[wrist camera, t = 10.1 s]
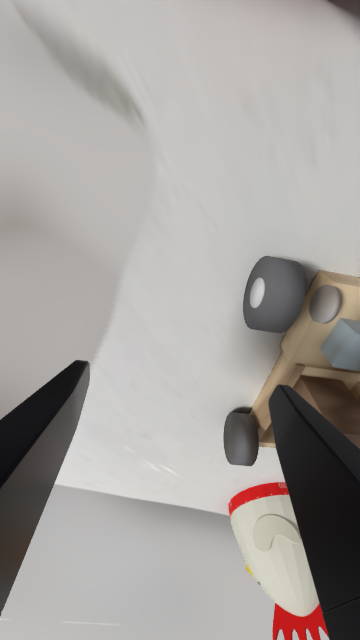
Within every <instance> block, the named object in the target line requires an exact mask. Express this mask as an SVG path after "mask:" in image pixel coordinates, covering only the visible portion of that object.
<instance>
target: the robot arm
mask: <svg viewBox="0 0 360 640" xmlns="http://www.w3.org/2000/svg"><path fill="white" fill-rule="evenodd" d="M89 380H90V365H89V362H88V361H82V360H76V361H74V362H73V363H72V364H70V365H69V366H68V367H67V368H65V369H64V370H63V371H61V372H60V373H59V374H58V375H56V376H55V377H54V378H53V379H51V380H50V381H49V382H48V383H47V384H45V385H44V386H42V387H41V388H40V389H39V390H38V391H36V392H35V393H34V394H32V395H31V396H30V397H29V398H27V399H26V400H25V401H24V402H23V403H21V404H20V405H18V406H17V407H16V408H15V409H14V410H12V411H11V412H10V413H8V414H7V415H6V416H5V417H3V418H2V419H1V420H0V616H1V611H2V610H3V608H4V606H5V603H6V601H7V598H8V596H9V593H10V591H11V588H12V586H13V584H14V581H15V579H16V576H17V574H18V571H19V569H20V566H21V564H22V561H23V559H24V557H25V554H26V552H27V549H28V547H29V544H30V542H31V539H32V537H33V534H34V532H35V529H36V527H37V525H38V522H39V520H40V517H41V515H42V512H43V510H44V507H45V505H46V502H47V500H48V498H49V495H50V493H51V490H52V488H53V485H54V483H55V480H56V478H57V475H58V473H59V471H60V468H61V466H62V463H63V461H64V458H65V456H66V453H67V451H68V448H69V446H70V444H71V441H72V439H73V436H74V434H75V431H76V428H77V425H78V422H79V418H80V415H81V411H82V407H83V404H84V400H85V396H86V393H87V389H88V386H89ZM268 406H269V412H270V418H271V424H272V429H273V435H274V441H275V446H276V450H277V453H278V457H279V461H280V464H281V468H282V471H283V475H284V478H285V482H286V486H287V489H288V493H289V496H290V500H291V503H292V507H293V511H294V514H295V518H296V521H297V525H298V528H299V532H300V536H301V539H302V543H303V546H304V550H305V553H306V557H307V561H308V564H309V568H310V571H311V575H312V578H313V582H314V586H315V589H316V593H317V596H318V600H319V603H320V607H321V610H322V612H323V613H322V615H323V619H324V622H325V626H326V629H327V633H328V636H329V639H330V640H360V449H359V448H358V447H357V446H356V445H355V444H354V443H353V442H352V441H351V440H349V439H348V438H347V437H346V436H345V435H344V434H343V433H342V432H341V431H339V430H338V429H337V428H336V427H335V426H334V425H333V424H332V423H331V422H329V421H328V420H327V419H326V418H325V417H324V416H323V415H322V414H321V413H319V412H318V411H317V410H316V409H315V408H314V407H313V406H312V405H311V404H309V403H308V402H307V401H306V400H305V399H304V398H303V397H302V396H301V395H299V394H298V393H297V392H296V391H295V390H294V389H293V388H292V387H290V386H288V385H282V384H278V385H277V386H276V387H275V389H274V391H273V392H272V394H271V396H270V398H269V401H268Z"/></svg>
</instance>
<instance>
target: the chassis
mask: <svg viewBox="0 0 360 640" xmlns="http://www.w3.org/2000/svg"><path fill="white" fill-rule="evenodd" d="M280 346H281V348H282V350H283V351H282V353H281V355H280V357H279V358H278V360H277V362H276V364H275V366H274V368H273V370H272V372H271V373H270V375H269V377H268V379H267V381H266V383H265V385H264V387H263V388H262V390H261V392H260V394H259V396H258V398H257V400H256V402H255V403H254V405H253V407H252V409H251V411H250V413H249V414H244V413H235V412H231V413H229V414H228V416H227V418H226V421H225V426H224V449H225V454H226V458H227V460H228V462H229V463H230V464H232V465H244V466H252V465H253V464H254V463H255V461H256V459H257V455H258V449H259V447H270V448H276V446H275V441H274V435H273V429H272V424H271V418H270V412H269V406H268V401H269V398H270V396H271V394H272V392H273V391H274V389H275V387H276V386H277V385H278V384H282V385H288V386H290V387H292V388H293V386H294V385H295V383H296V382H297V380H298V378H299V377H300V375H305V376H313V377H320V378H328V379H335V380H342V381H343V383H344V384H345V385H346V387H347V388H348V389H349V391H350V392H351V393H352V394H353V396H354V397H355V398H356V400H357V401H358V402H359V404H360V278H359V277H354V276H349V275H343V274H338V273H332V272H327V271H322V270H319V271H318V273H317V275H316V277H315V279H314V280H313V282H312V284H311V286H310V288H309V290H308V292H307V294H306V296H305V298H304V302H303V306H302V309H301V311H300V314H299V316H298V318H297V319H296V321H295V322H294V324H293V325H292V326H291V327H290V328H289V329H288V331H287V333H286V335H285V336H284V338H283V340H282V342H281V344H280Z"/></svg>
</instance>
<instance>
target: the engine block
mask: <svg viewBox="0 0 360 640" xmlns="http://www.w3.org/2000/svg"><path fill="white" fill-rule="evenodd" d="M293 389H294V390H295V391H296V392H297V393H298V394H299V395H301V396H302V397H303V398H304V399H305V400H306V401H307V402H308V403H309V404H311V405H312V406H313V407H314V408H315V409H316V410H317V411H318V412H319V413H321V414H322V415H323V416H324V417H325V418H326V419H327V420H328V421H329V422H331V423H332V424H333V425H334V426H335V427H336V428H337V429H338V430H339V431H341V432H342V433H343V434H344V435H345V436H346V437H347V438H348V439H349V440H351V441H352V442H353V443H354V444H355V445H356V446H357V447H358V448H359V449H360V404H359V402H358V401H357V400H356V398H355V397H354V396H353V394H352V393H351V392H350V391H349V389H348V388H347V387H346V385H345V384H344V383H343V381H342V380H335V379H328V378H320V377H313V376H305V375H300V377H299V378H298V380H297V382H296V383H295V385H294V386H293Z"/></svg>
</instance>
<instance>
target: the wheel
mask: <svg viewBox="0 0 360 640" xmlns="http://www.w3.org/2000/svg"><path fill="white" fill-rule="evenodd" d="M305 292H306V279H305V273H304V270H303V268H302V266H301V265H300V264H299V263H298V262H295V261H291V260H285V259H280V258H275V257H270V256H265V257H262V258H261V259H260V260H259V261H258V262H257V263H256V264H255V266H254V268H253V269H252V271H251V274H250V276H249V279H248V282H247V285H246V289H245V294H244V301H243V313H244V319H245V322H246V324H247V326H248V327H249V328H250V329H255V330H262V331H268V332H275V333H282V332H285V331H286V330H288V329H289V328H290V327H291V326H292V325H293V324H294V322H295V321H296V319H297V318H298V316H299V314H300V311H301V309H302V306H303V302H304V298H305Z"/></svg>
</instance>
